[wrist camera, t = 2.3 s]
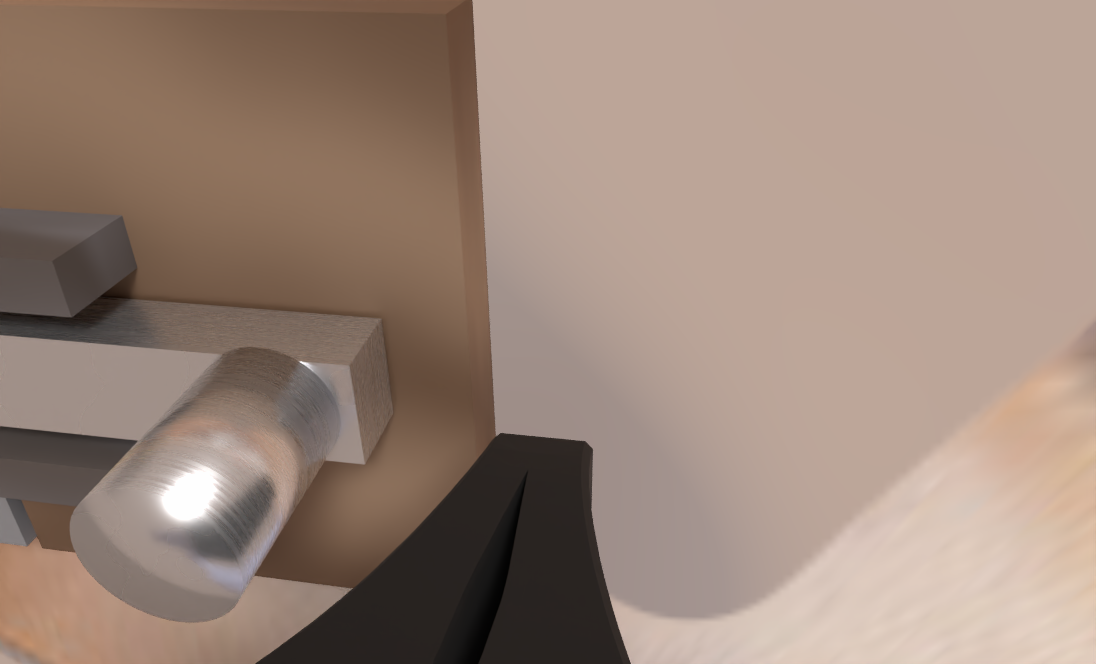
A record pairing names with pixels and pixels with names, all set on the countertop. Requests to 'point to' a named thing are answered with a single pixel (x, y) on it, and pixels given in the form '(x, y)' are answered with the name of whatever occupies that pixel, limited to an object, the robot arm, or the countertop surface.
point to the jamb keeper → (15, 523)
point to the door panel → (258, 221)
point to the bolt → (195, 432)
